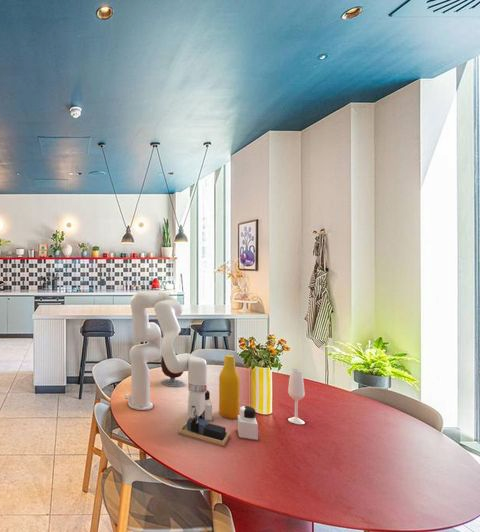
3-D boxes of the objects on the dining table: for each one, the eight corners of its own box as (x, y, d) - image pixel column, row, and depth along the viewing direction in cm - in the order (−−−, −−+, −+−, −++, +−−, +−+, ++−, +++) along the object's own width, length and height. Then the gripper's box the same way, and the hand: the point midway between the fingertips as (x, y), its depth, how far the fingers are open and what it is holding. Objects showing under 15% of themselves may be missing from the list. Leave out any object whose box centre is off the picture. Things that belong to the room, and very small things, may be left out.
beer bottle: (226, 420, 162) (227, 358, 162) (215, 412, 171) (215, 353, 171) (243, 418, 164) (244, 357, 164) (231, 410, 173) (231, 352, 173)
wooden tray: (179, 434, 149) (179, 429, 149) (186, 425, 156) (186, 421, 156) (223, 447, 138) (223, 441, 138) (229, 437, 146) (229, 432, 146)
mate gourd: (169, 378, 223) (169, 347, 223) (188, 383, 212) (188, 351, 212) (155, 383, 212) (155, 351, 212) (174, 389, 202) (175, 355, 202)
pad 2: (204, 437, 144) (204, 428, 144) (208, 432, 149) (208, 423, 149) (222, 442, 140) (222, 433, 140) (225, 437, 145) (225, 427, 145)
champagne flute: (307, 425, 158) (307, 372, 158) (291, 423, 159) (291, 371, 159) (301, 418, 164) (301, 368, 164) (285, 417, 166) (285, 367, 166)
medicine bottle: (255, 433, 150) (255, 405, 150) (257, 441, 143) (258, 412, 143) (237, 430, 152) (237, 403, 152) (239, 438, 145) (239, 409, 145)
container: (212, 421, 161) (212, 393, 161) (194, 419, 162) (194, 392, 162) (209, 414, 168) (209, 388, 168) (192, 413, 170) (192, 386, 170)
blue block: (186, 430, 148) (186, 420, 148) (191, 425, 153) (191, 416, 153) (203, 434, 144) (203, 425, 144) (207, 429, 149) (207, 420, 149)
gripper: (194, 380, 158) (194, 419, 158) (181, 391, 144) (181, 434, 144) (211, 383, 154) (211, 423, 154) (200, 394, 140) (200, 439, 140)
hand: (197, 428), depth 149 cm, fingers closed on blue block, 5 cm apart
